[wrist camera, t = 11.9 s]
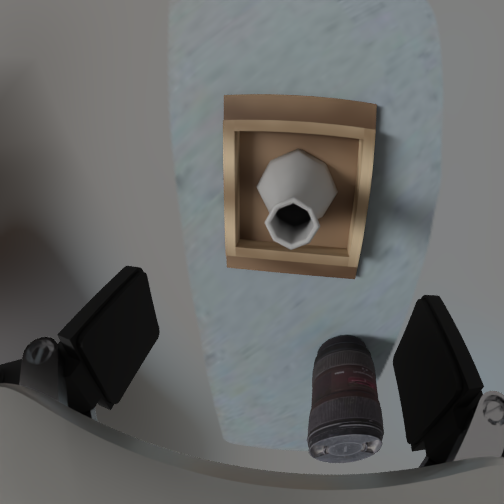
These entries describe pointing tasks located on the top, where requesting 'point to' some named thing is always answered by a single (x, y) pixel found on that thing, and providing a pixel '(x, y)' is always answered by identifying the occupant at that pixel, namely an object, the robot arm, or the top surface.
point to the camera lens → (344, 403)
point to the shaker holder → (319, 146)
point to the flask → (296, 197)
